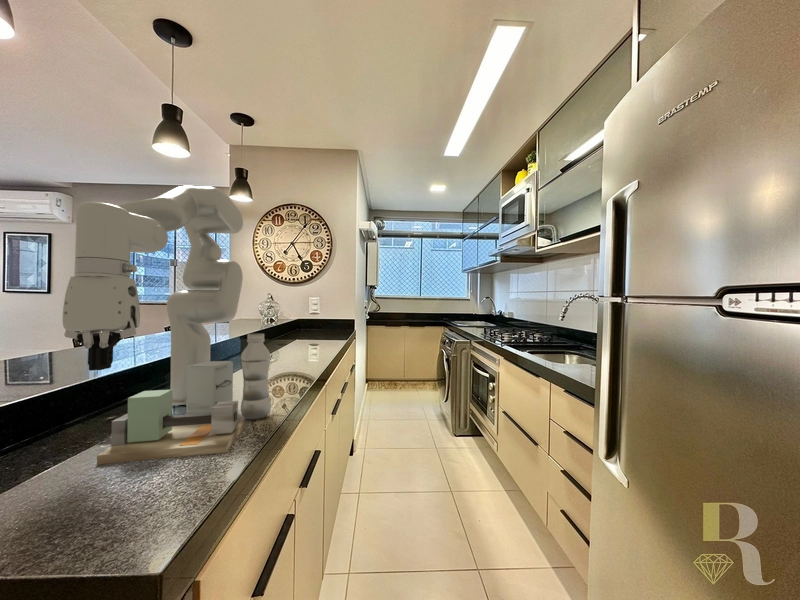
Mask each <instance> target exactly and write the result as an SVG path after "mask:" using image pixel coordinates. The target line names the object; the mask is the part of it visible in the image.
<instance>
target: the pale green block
mask: <svg viewBox="0 0 800 600" xmlns="http://www.w3.org/2000/svg"><path fill="white" fill-rule="evenodd" d="M172 400H173V389H172V390H171V389H157V390H155V389H154V390H143V391H141V392H138V393H137V394H134V395H132V396H129V397H127V413H128V434H127V442H138V441H150V440H159V439H160V438H162V437H163V436H164V435H166V434H167V433H168V432H170V431H171V430H172V426H171V427H163V417H165V416H173V406H172Z"/></svg>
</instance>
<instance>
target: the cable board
mask: <svg viewBox="0 0 800 600" xmlns="http://www.w3.org/2000/svg"><path fill="white" fill-rule="evenodd" d="M171 426H172V430H171V431H170V432H168V433H167V434H166V435H164V436H163V437H162V438H160V439H159V440H150V441H138V442H127V434H128V412H127V413H126V414H123V415H121V416H120V417H118V418H116V419H114V420H111V439H110V441H111V444H110V445H111V446H110V447H108V448H107V449H105V450H103V451H102V452H100V453H99V454H97V455H96V465H105V464H107V465H108V464H115V463H124V462H136V461H138V462H139V461H146V460H159V459H167V458H168V459H169V458H170V459H171V458H179V457H189V456H199V455H210V454H219V453H220V454H221V453H227V452H228V450H229V449H230V447H231V446H232V445H233V443H234V442H235V441H236V440H237V438H238V437H239V435H240V434H241V433H242V431H243V430H244V429H245V420H239V400H233V401H229V402H219V403H217V404H216V405H215V406H214V407H212V408H211V413H201V414H187V415H186V414H175V415H173V414H172V416H165V417H163V427H171Z"/></svg>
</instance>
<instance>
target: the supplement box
mask: <svg viewBox="0 0 800 600" xmlns="http://www.w3.org/2000/svg"><path fill="white" fill-rule="evenodd" d="M233 368H234V361H233V360H232V361H231V360H221V361H220V360H212V361H211V360H210V361H207V362H203V363H199V364H194V365H190V366H187V400H186V406H185V407H186V410H185V411H186V412H185V413H186V414H185V415H187V414H201V413H211V408H212V407H214V406H215V405H216V404H217V403H219V402H229V401H234V400H233V396H234V395H233V392H234V391H233V388H234V386H233V385H234V382H233V381H234V378H233V377H234V376H233V375H234V373H233V371H234V369H233Z"/></svg>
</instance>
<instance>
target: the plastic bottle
mask: <svg viewBox="0 0 800 600" xmlns="http://www.w3.org/2000/svg"><path fill="white" fill-rule="evenodd" d="M246 337H247V339H246V342H247V346H246V347H245V348H244V349H243V351H242V352H241V355H240V362H241V369H242V378H243V381H242V382H243V387H242V399H241V402H240V403H241V404H240V412H241V416H242V417H243V419H246V420H259V419H263V418H266V417H267V416H268V415H269V414H270V413H271V408H272V403H271V397H270V392H269V390H270V389H269V371H270V363H271V352H270V350H269V349H268V348H267V347H266V345H265V344H264V342H266V341H265V333H248V334H247V336H246Z"/></svg>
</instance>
